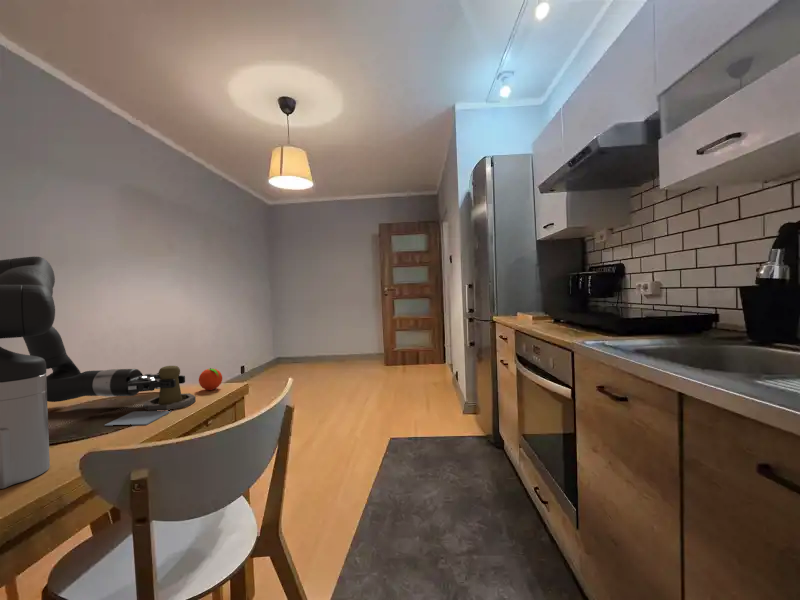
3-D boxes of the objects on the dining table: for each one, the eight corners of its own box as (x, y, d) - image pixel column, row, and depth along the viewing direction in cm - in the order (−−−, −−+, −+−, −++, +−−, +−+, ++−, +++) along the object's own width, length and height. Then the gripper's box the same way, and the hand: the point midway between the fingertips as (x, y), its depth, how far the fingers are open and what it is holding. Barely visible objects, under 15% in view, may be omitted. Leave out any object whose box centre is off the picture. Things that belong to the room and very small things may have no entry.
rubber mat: (146, 425, 90) (146, 423, 90) (104, 426, 89) (104, 424, 89) (171, 411, 100) (171, 410, 100) (133, 412, 99) (133, 411, 99)
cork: (187, 401, 109) (186, 364, 109) (172, 408, 103) (171, 368, 103) (168, 401, 109) (167, 364, 109) (152, 407, 103) (151, 368, 103)
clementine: (229, 388, 123) (228, 367, 123) (208, 394, 117) (208, 371, 117) (214, 386, 127) (214, 365, 127) (194, 390, 121) (193, 368, 121)
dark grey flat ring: (179, 410, 100) (179, 404, 100) (135, 411, 100) (135, 405, 100) (201, 398, 112) (201, 393, 112) (162, 399, 112) (162, 394, 112)
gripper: (98, 374, 98) (164, 373, 99) (135, 364, 113) (192, 363, 113) (99, 403, 99) (165, 401, 99) (136, 389, 113) (193, 388, 113)
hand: (179, 381), depth 106 cm, fingers closed on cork, 4 cm apart
